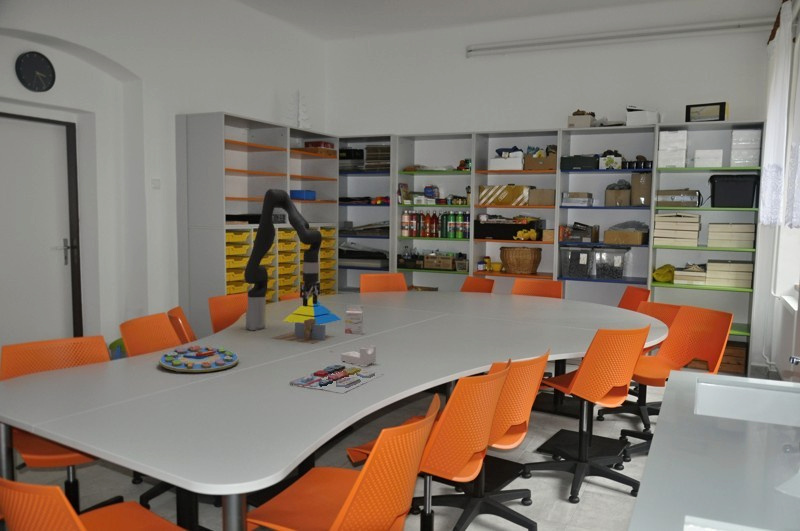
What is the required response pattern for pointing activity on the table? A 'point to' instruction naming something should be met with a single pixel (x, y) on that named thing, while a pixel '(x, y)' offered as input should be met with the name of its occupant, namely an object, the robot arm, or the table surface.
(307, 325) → the oak slotted plate
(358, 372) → the puzzle board
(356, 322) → the ink cartridge box
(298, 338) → the walnut base board
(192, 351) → the shape sorting clock
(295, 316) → the pyramid toy
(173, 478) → the table surface
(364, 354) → the bracket
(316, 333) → the slate-blue slotted plate
